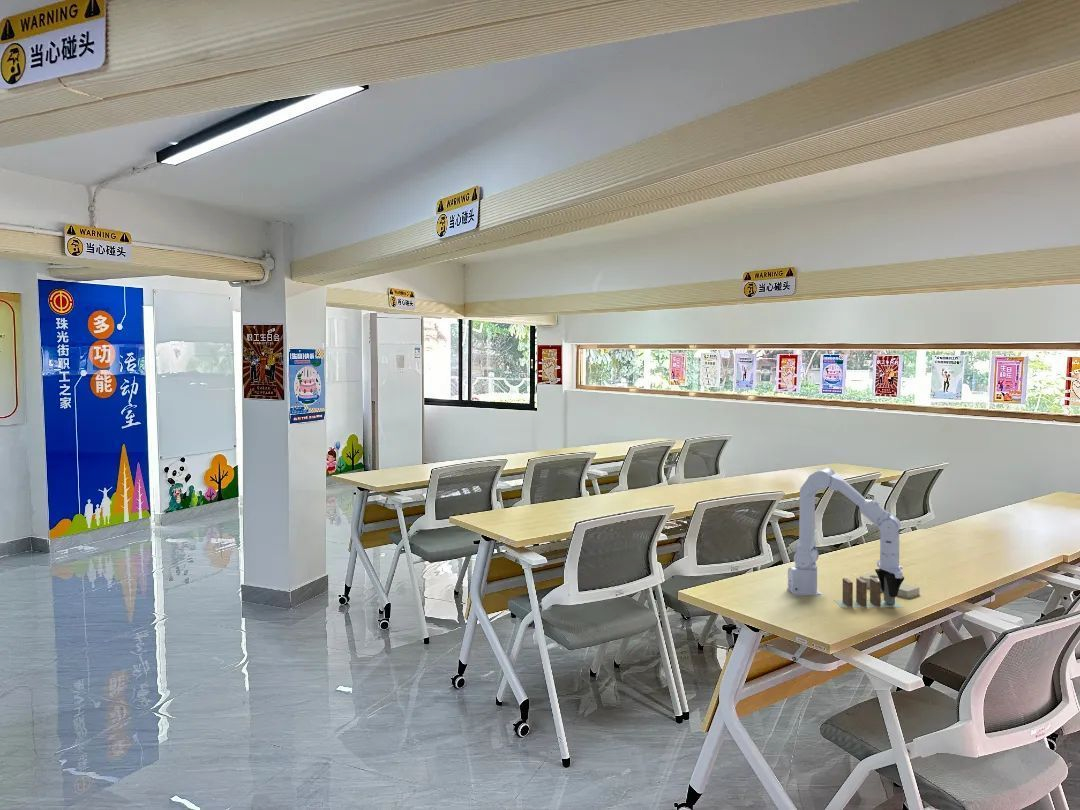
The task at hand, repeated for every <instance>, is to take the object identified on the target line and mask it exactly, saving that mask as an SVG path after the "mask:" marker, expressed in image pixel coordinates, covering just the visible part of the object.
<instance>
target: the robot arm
mask: <svg viewBox="0 0 1080 810" xmlns="http://www.w3.org/2000/svg"><path fill="white" fill-rule="evenodd" d="M827 488H828V490H829V491H836V492H840V493H841V494H842V495H844V496H845V497H846V498H848V499H849V500H850V501H851V502H853V503H854V504H855V505H856V506H857V507H858V508H859V513H860V514H862V515H863V516H864V517H865V518H866V519H868V520H869V521H870V522H871V523H873V525H874V526H877V527H878V531H879V532H880V539H879V560H877V561H876V566H877V567H879V568H875V569H874V571H875V574H877V575H878V578H879V581H880V582H881V589H882V591H884V577H885V578H886V581H887V584H888V591H889V596H890V597H895V598H897V597H898V596H897V594H898V591H899V588H900V585H901V583H903V581H904V580H905V576H903V574H904V573H903V571H902V570H903V568H904V567H903V566H902V565H900V531H899V530H900V528H901V527H902V526H901V521H900V519H899V518H898V517H897V516H896V515H895V514H892V512H890V511H887V510H886V509H884V508H883V507H882V506H881V505H880V502H878V500H876V501H875V500H873V499H866V498H865V496H863V495H862V494H861V493H860V492H859V491H858V490H856V489H855V488H854V487H853V486H852V485H851V484H850V483H849V482H847V481H846V480H845V479H844V478H843V477H842V476H841V475H840V474H839V473H837V472H835V471H834V470H833V469H831V468H830V467H823V468H820V469H819V470H817V471H814V472H813V473H811V474H809V475H808V477H807V479H806V480H805V481H804V483H803V484H802V486H801V487H800V488H799V514H798V515H799V519H798V520H799V522H798V524H799V525H798V526H799V527H798V531H799V532H798V542H797V545H796V551H795V554H794V555H793V561H794V562H793V563H794V564H795V565H794V566H789V567H788V568H787V587H786V589H787V590H788V591H789V592H790V593H791V594H792V595H793V596H821V595H822V592H820V591H819V590H818V565H817V563H816V562H817V561H818V559H819V558H820V557H819V551H818V549H817V542H816V540H815V539H816V538H815V528H816V527H815V519H816V518H815V515H816V513H815V512H816V495H817V494H819V492H821V491H822V490H825V489H827ZM882 591H881V592H882Z"/></svg>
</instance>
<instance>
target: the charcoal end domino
mask: <svg viewBox="0 0 1080 810" xmlns="http://www.w3.org/2000/svg"><path fill="white" fill-rule="evenodd" d="M883 600H884V601H885V602H887V603H888V604H890V605H895V601H896V597H890V596H889V591H888V584H887V581H886V578H885V577H884V592H883Z"/></svg>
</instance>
